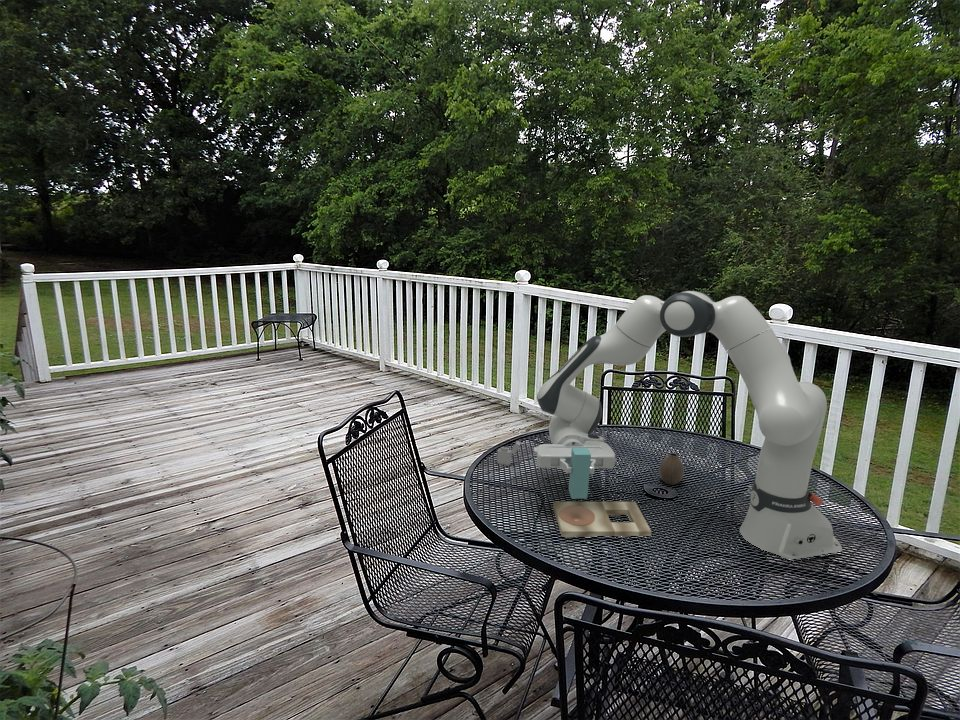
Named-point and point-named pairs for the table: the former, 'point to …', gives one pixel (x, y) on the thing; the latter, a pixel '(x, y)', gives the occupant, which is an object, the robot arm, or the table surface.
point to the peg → (579, 472)
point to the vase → (671, 469)
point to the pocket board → (604, 520)
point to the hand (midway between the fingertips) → (580, 471)
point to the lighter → (506, 454)
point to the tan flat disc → (577, 515)
